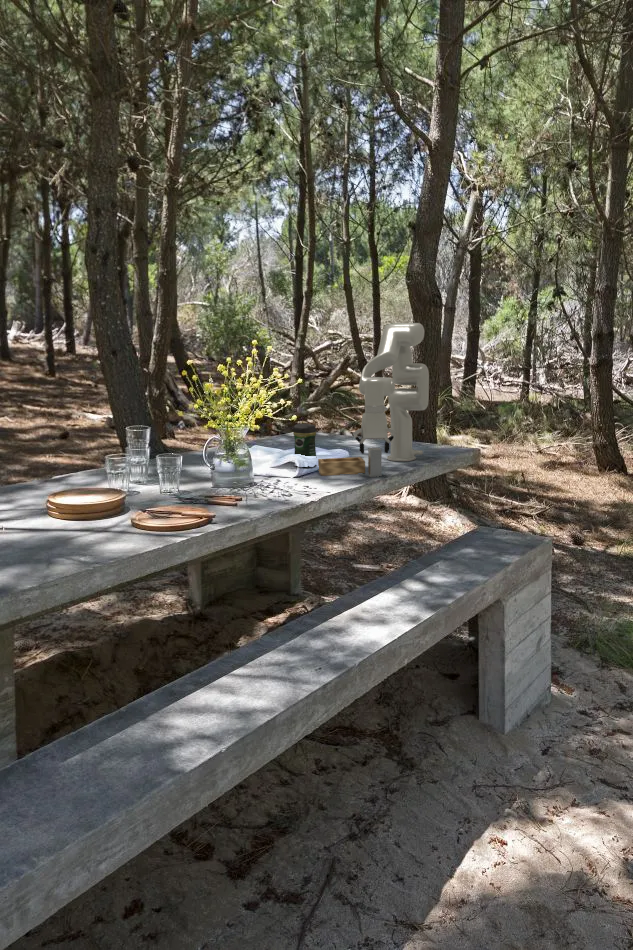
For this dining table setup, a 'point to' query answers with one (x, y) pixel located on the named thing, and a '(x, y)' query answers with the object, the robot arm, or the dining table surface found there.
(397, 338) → the robot arm
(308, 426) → the coffee jar
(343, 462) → the wooden box
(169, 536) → the dining table surface
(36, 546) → the dining table surface
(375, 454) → the grey rectangular block
